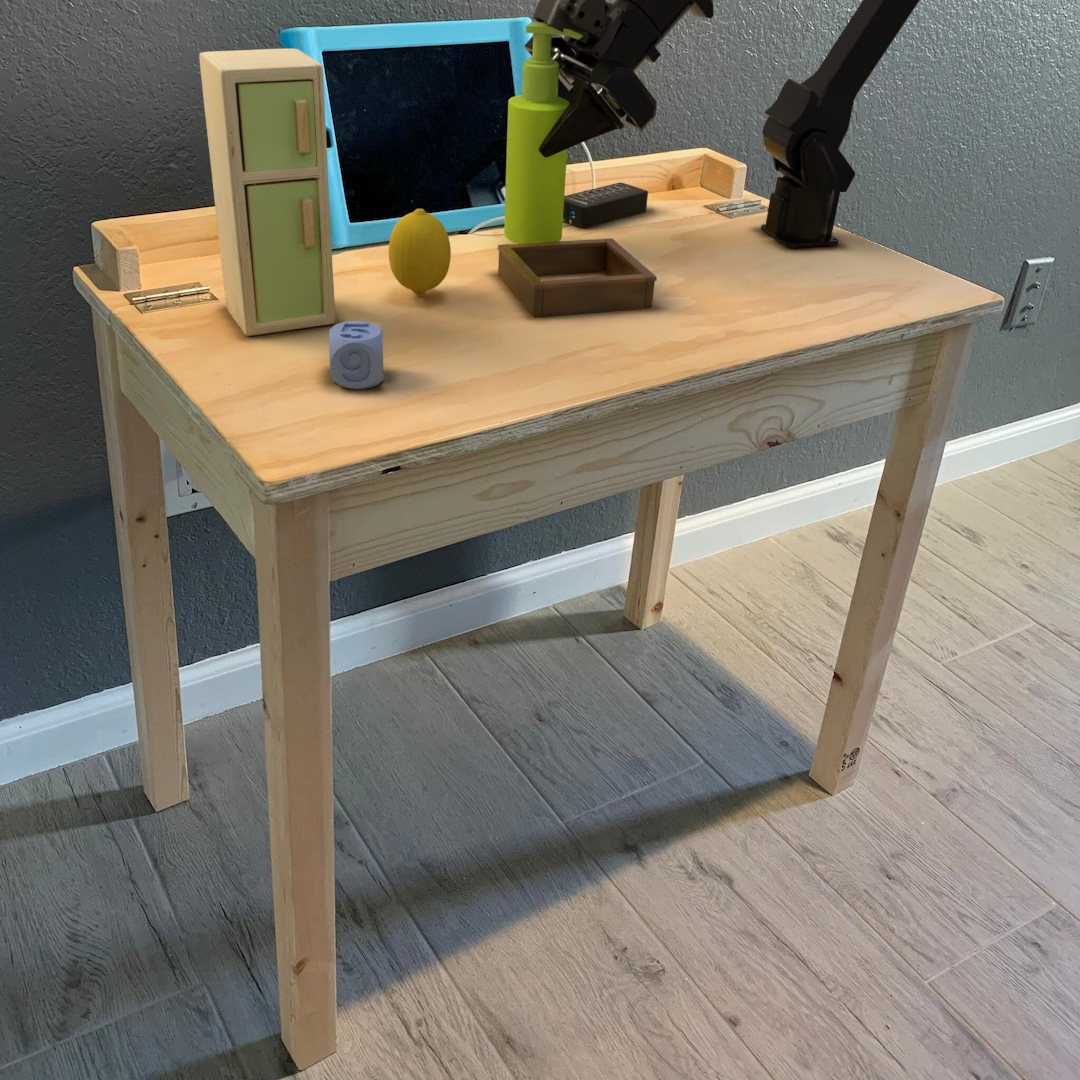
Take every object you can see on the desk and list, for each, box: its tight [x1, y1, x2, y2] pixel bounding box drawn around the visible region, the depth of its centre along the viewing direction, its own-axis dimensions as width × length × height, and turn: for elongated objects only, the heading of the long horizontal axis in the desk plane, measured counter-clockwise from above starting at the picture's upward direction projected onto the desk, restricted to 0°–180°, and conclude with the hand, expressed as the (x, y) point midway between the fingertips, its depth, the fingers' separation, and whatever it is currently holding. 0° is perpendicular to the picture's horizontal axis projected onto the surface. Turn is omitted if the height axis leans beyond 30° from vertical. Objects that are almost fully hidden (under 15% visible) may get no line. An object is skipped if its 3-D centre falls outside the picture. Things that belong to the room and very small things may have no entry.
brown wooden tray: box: [497, 237, 658, 318], centre depth 106 cm, size 12×11×3 cm
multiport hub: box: [563, 182, 649, 229], centre depth 127 cm, size 4×11×2 cm, turn 136°
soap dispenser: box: [503, 21, 586, 244], centre depth 110 cm, size 6×7×20 cm
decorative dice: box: [328, 320, 385, 390], centre depth 88 cm, size 4×4×4 cm
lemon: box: [388, 208, 452, 297], centre depth 102 cm, size 6×6×8 cm
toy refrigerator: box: [199, 48, 336, 337], centre depth 92 cm, size 8×7×21 cm
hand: (528, 145), depth 110 cm, fingers closed on soap dispenser, 6 cm apart
